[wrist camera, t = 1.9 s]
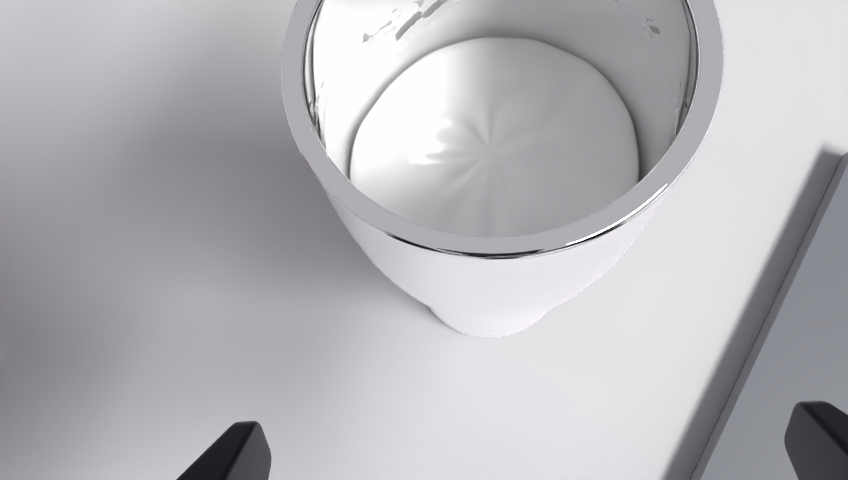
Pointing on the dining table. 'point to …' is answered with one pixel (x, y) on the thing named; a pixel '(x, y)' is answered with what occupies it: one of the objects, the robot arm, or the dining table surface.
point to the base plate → (790, 353)
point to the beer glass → (499, 137)
